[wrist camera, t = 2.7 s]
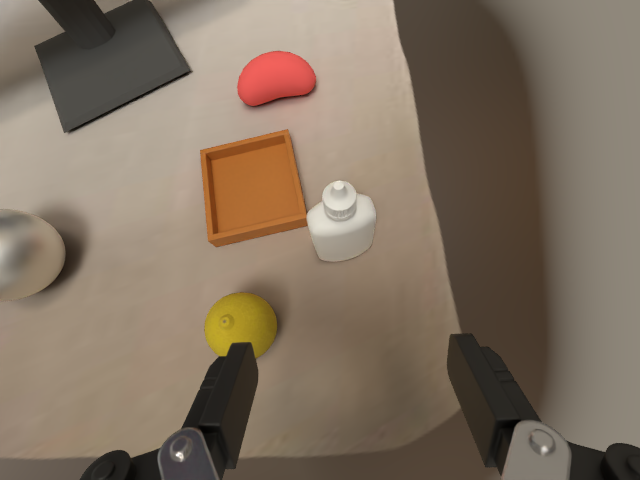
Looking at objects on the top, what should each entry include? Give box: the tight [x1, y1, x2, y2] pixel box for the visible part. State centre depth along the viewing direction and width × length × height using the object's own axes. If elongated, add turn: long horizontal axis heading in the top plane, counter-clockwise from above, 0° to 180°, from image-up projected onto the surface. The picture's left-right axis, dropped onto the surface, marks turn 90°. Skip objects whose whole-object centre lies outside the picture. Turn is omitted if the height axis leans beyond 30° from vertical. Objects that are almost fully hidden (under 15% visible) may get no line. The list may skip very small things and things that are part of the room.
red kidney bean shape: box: [237, 51, 316, 106], centre depth 38 cm, size 5×9×6 cm
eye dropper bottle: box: [306, 181, 376, 262], centre depth 26 cm, size 4×6×12 cm
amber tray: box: [200, 129, 308, 247], centre depth 34 cm, size 11×10×2 cm
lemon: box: [204, 292, 277, 359], centre depth 26 cm, size 6×6×8 cm
